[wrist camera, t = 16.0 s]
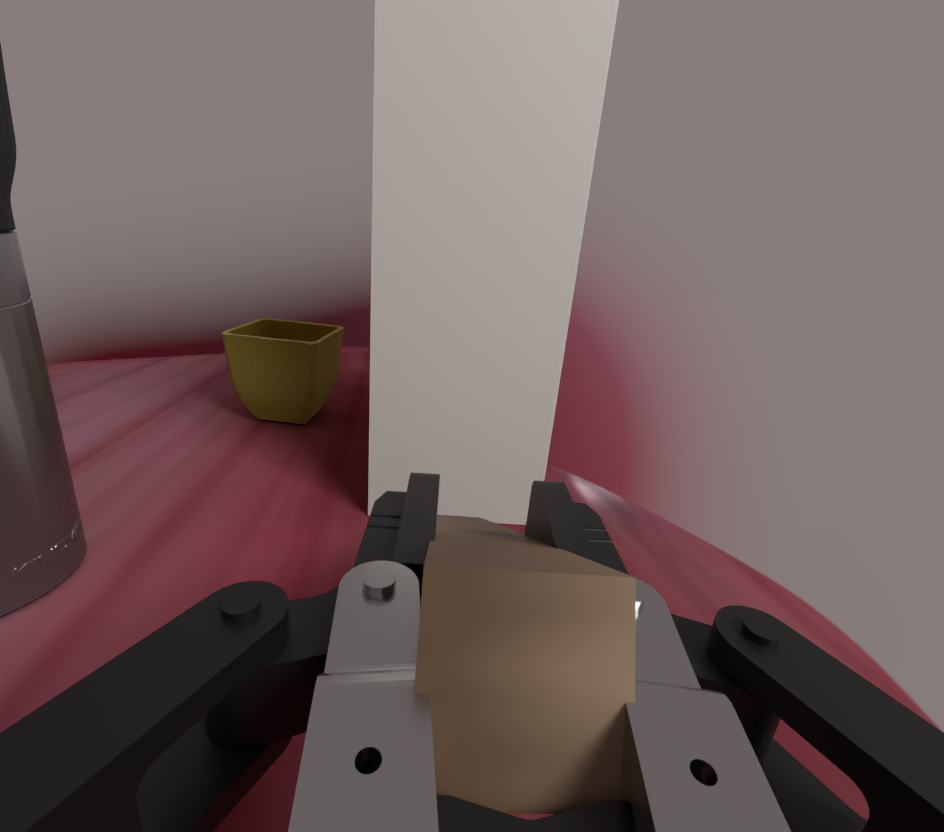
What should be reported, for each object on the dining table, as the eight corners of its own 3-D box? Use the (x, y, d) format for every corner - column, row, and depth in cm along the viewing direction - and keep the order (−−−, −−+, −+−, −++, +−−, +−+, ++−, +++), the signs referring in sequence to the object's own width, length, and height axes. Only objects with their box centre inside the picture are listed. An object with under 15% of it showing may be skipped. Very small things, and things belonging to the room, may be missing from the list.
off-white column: (367, 515, 34) (376, -70, 23) (390, 445, 45) (403, 30, 34) (537, 525, 35) (625, -39, 24) (518, 454, 46) (571, 49, 35)
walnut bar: (405, 809, 5) (423, 564, 5) (433, 559, 27) (437, 514, 27) (634, 816, 5) (635, 577, 6) (477, 561, 27) (480, 517, 27)
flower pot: (345, 405, 54) (345, 325, 51) (318, 435, 46) (316, 342, 43) (267, 397, 54) (262, 317, 51) (227, 426, 46) (218, 332, 43)
